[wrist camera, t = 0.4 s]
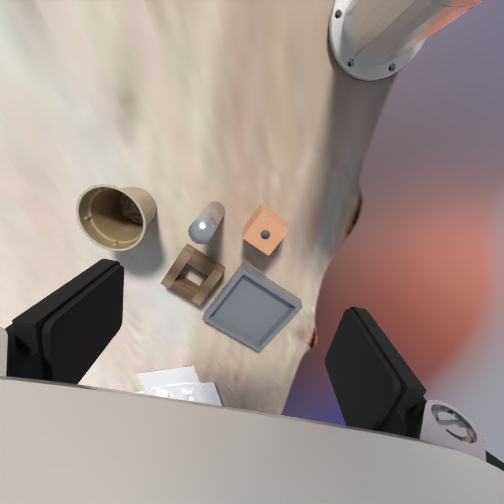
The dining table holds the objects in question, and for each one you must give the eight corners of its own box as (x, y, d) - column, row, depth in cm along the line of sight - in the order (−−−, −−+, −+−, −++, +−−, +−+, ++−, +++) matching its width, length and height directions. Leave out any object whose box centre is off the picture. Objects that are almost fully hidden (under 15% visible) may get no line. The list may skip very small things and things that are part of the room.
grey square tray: (243, 262, 46) (242, 268, 43) (300, 299, 48) (302, 306, 46) (204, 312, 50) (202, 319, 48) (259, 343, 53) (259, 352, 50)
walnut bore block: (187, 243, 44) (182, 249, 42) (224, 267, 46) (222, 274, 43) (166, 275, 47) (160, 283, 44) (202, 296, 49) (199, 305, 46)
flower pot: (173, 229, 43) (153, 247, 35) (121, 236, 44) (91, 255, 36) (157, 173, 40) (132, 179, 32) (102, 182, 41) (63, 190, 33)
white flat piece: (207, 359, 56) (204, 374, 52) (236, 433, 67) (235, 449, 64) (123, 372, 58) (114, 386, 54) (165, 441, 69) (160, 457, 66)
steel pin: (212, 198, 41) (196, 216, 30) (227, 208, 42) (217, 230, 31) (203, 212, 42) (184, 235, 31) (218, 222, 43) (204, 248, 32)
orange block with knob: (261, 203, 41) (261, 211, 36) (284, 220, 42) (289, 231, 37) (244, 226, 43) (242, 238, 37) (267, 242, 44) (268, 256, 38)
